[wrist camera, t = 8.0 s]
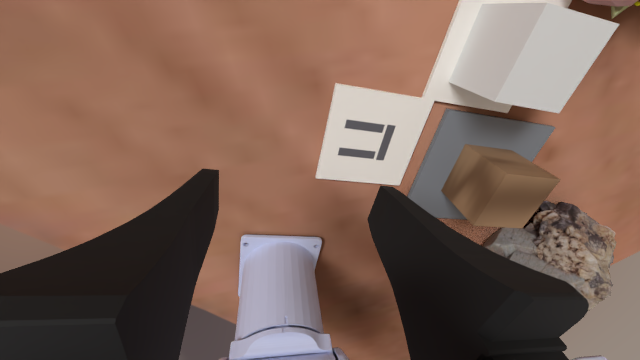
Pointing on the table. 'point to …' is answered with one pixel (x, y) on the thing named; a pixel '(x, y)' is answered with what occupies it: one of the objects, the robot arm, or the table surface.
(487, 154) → the walnut cube
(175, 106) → the table surface
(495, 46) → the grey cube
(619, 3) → the figurine
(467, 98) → the code tile
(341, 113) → the code tile
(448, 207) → the slate mat
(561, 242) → the rock
